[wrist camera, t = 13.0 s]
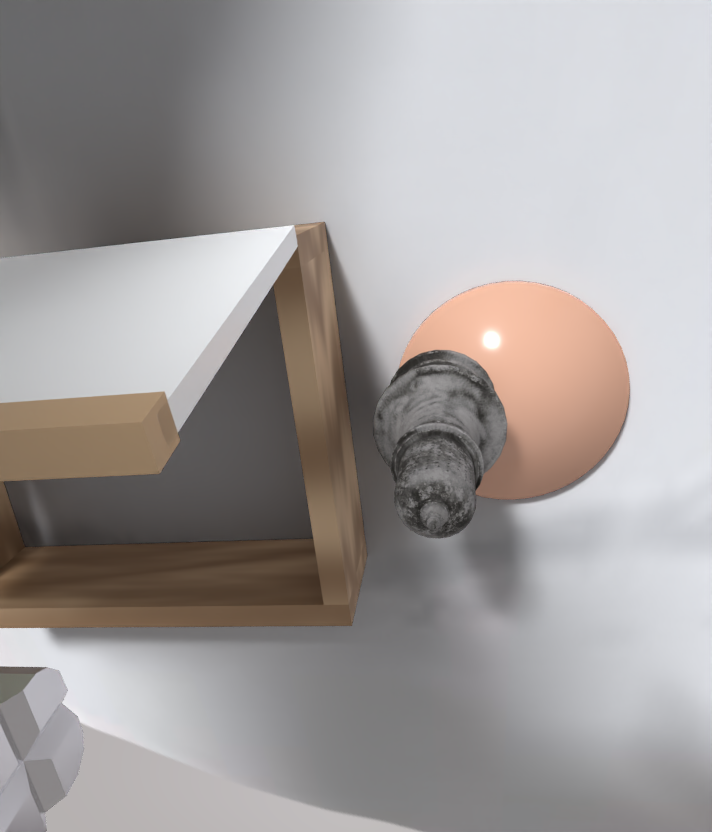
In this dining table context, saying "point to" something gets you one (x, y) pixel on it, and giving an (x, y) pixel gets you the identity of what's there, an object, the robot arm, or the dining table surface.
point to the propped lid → (121, 346)
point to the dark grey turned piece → (439, 439)
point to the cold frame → (226, 560)
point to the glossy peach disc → (537, 379)
